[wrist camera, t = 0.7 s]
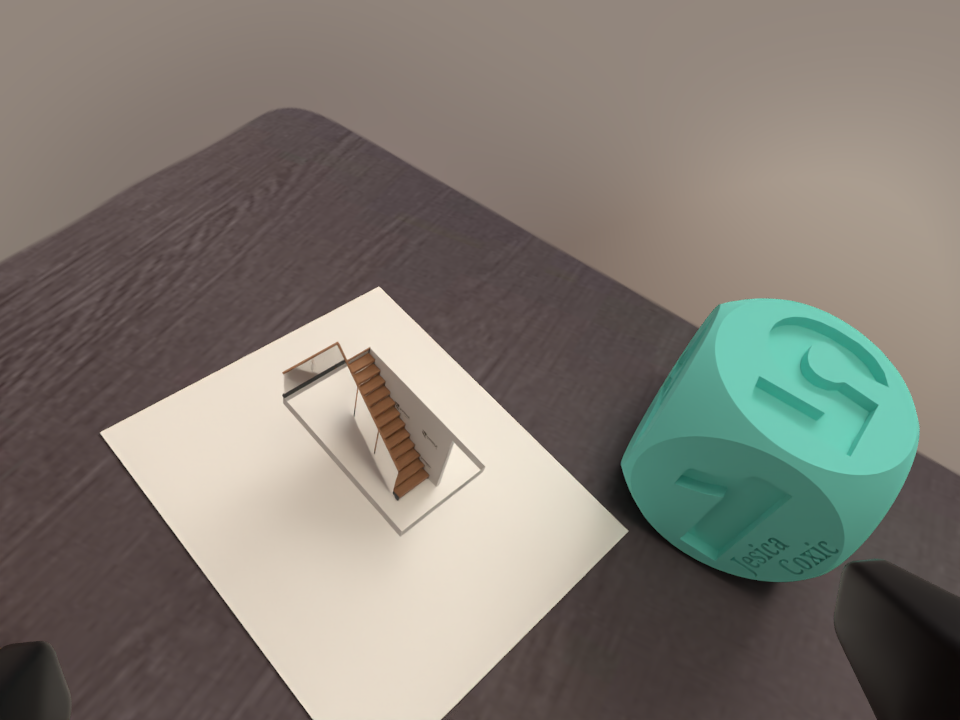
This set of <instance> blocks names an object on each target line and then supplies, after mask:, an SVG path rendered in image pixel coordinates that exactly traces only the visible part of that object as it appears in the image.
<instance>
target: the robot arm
mask: <svg viewBox="0 0 960 720" xmlns="http://www.w3.org/2000/svg"><path fill="white" fill-rule="evenodd" d="M834 626H835V631H836V634H837V637H838V639H839V641H840V643H841V646H842V648H843V650H844V652H845V654H846V656H847V658H848V660H849V662H850V664H851V666H852V668H853V670H854V672H855V675H856V677H857V679H858V681H859V683H860V685H861V687H862V689H863V691H864V693H865V695H866V697H867V699H868V702H869V704H870V706H871V708H872V710H873V712H874V714H875V716H876V718H877V720H960V597H958V596H956V595H954V594H952V593H950V592H948V591H946V590H944V589H942V588H940V587H938V586H936V585H934V584H932V583H930V582H928V581H926V580H924V579H922V578H920V577H918V576H916V575H914V574H912V573H910V572H908V571H906V570H904V569H902V568H900V567H898V566H896V565H894V564H892V563H890V562H888V561H886V560H882V559H871V560H861V561H852V562H850V563H848V564H847V565H846V566H845V567H844V569H843V571H842V575H841V581H840V586H839V591H838V596H837V601H836V606H835V612H834ZM70 715H71V696H70V692H69V689H68V686H67V683H66V681H65V678H64V675H63V672H62V670H61V667H60V664H59V661H58V659H57V656H56V653H55V651H54V649H53V647H52V646H51V645H50V644H49V643H47V642H44V641H36V642H26V643H16V644H11V645H7V646H5V647H3V648H1V649H0V720H69V719H70Z"/></svg>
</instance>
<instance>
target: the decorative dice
mask: <svg viewBox="0 0 960 720" xmlns="http://www.w3.org/2000/svg"><path fill="white" fill-rule="evenodd" d="M919 432H920V431H919V421H918V417H917V413H916V409H915V406H914V402H913V399H912V397H911V394H910V392H909V390H908V388H907V386H906V384H905V382H904V380H903V379H902V377H901V375H900V374H899V372H898V371H897V369H896V368H895V367H894V366H893V364H892V363H891V362H890V360H889V359H888V358H887V357H886V356H885V355H884V354H883V352H882V351H881V350H880V349H879V348H878V347H877V346H875V345H874V344H873V343H872V342H871V341H870V340H869V339H868V338H866V337H865V336H864V335H863V334H861V333H860V332H859V331H857V330H856V329H855V328H853V327H852V326H850V325H848V324H847V323H845V322H844V321H842V320H840V319H839V318H837V317H835V316H833V315H831V314H829V313H827V312H825V311H822V310H820V309H817V308H815V307H812V306H809V305H806V304H802V303H799V302H794V301H789V300H781V299H764V298H762V299H746V300H739V301H732V302H727V303H723V304H720V305H718V306H717V307H716V308H715V309H714V310H713V311H712V312H711V313H710V315H709V316H708V317H707V319H706V320H705V321H704V323H703V324H702V325H701V327H700V328H699V329H698V331H697V332H696V334H695V335H694V337H693V338H692V340H691V341H690V343H689V344H688V346H687V347H686V349H685V350H684V352H683V353H682V355H681V356H680V358H679V359H678V361H677V362H676V364H675V365H674V367H673V369H672V370H671V372H670V373H669V375H668V377H667V378H666V380H665V381H664V383H663V385H662V386H661V388H660V390H659V391H658V393H657V395H656V396H655V398H654V400H653V401H652V403H651V405H650V406H649V408H648V410H647V412H646V413H645V415H644V417H643V419H642V420H641V422H640V424H639V426H638V427H637V429H636V431H635V433H634V435H633V437H632V439H631V441H630V443H629V445H628V447H627V449H626V451H625V453H624V455H623V458H622V460H621V467H622V471H623V474H624V477H625V480H626V483H627V485H628V488H629V490H630V492H631V495H632V497H633V499H634V500H635V502H636V504H637V506H638V507H639V509H640V511H641V512H642V514H643V515H644V517H645V518H646V519H647V520H648V522H649V523H650V524H651V525H652V526H653V527H654V528H655V530H656V531H657V532H658V533H660V534H661V535H662V536H663V537H664V538H665V539H666V540H668V541H669V542H670V543H671V544H673V545H674V546H675V547H677V548H678V549H680V550H681V551H683V552H684V553H686V554H687V555H689V556H691V557H693V558H694V559H696V560H698V561H700V562H702V563H704V564H706V565H708V566H711V567H713V568H716V569H718V570H721V571H723V572H726V573H729V574H733V575H736V576H740V577H744V578H748V579H753V580H759V581H768V582H791V581H799V580H804V579H809V578H814V577H818V576H821V575H823V574H826V573H828V572H829V571H831V570H833V569H834V568H836V567H837V566H839V565H840V564H841V563H843V562H844V561H845V560H846V559H848V558H849V557H850V556H851V555H852V554H853V553H854V552H855V551H856V550H857V549H858V548H859V547H860V546H861V545H862V544H863V543H864V542H865V541H866V539H867V538H868V537H869V536H870V535H871V534H872V532H873V531H874V530H875V529H876V527H877V526H878V525H879V523H880V522H881V520H882V519H883V518H884V516H885V515H886V513H887V512H888V510H889V509H890V507H891V506H892V504H893V502H894V501H895V499H896V497H897V495H898V494H899V492H900V490H901V488H902V486H903V484H904V482H905V480H906V478H907V476H908V473H909V471H910V469H911V466H912V463H913V461H914V457H915V454H916V451H917V446H918V441H919Z"/></svg>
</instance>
